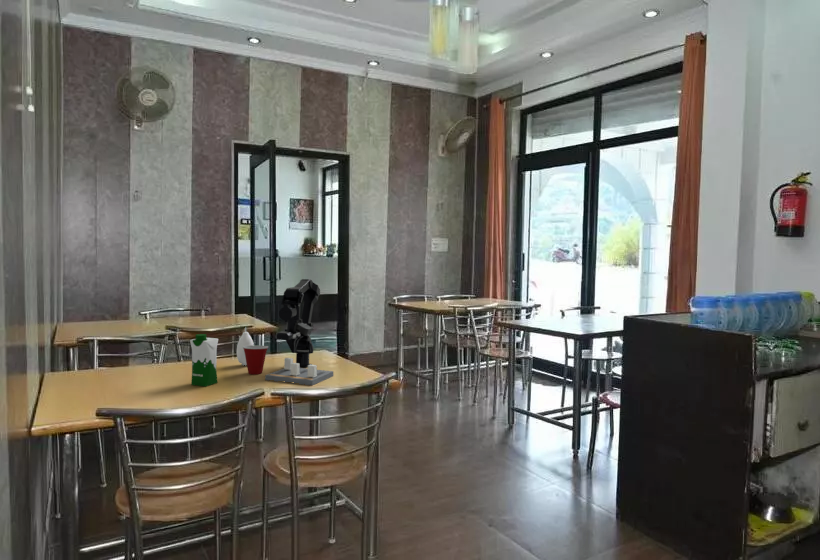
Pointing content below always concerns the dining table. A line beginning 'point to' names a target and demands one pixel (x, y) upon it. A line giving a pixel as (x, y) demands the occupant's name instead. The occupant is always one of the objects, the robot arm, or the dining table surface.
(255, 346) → the plastic cup
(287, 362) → the block
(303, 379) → the breaker panel
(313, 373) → the block
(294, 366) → the block
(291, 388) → the dining table surface
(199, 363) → the milk carton
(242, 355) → the sauce bottle
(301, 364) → the robot arm
